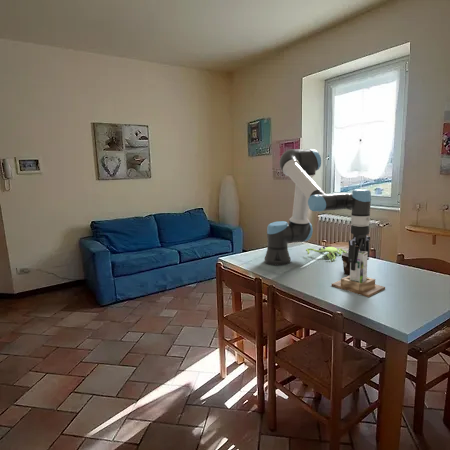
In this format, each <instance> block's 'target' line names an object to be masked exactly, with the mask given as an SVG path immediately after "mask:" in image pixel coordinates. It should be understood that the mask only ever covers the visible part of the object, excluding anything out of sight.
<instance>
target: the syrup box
mask: <svg viewBox="0 0 450 450" xmlns="http://www.w3.org/2000/svg"><path fill="white" fill-rule="evenodd" d="M367 257H368V252H367V251H360V250H359V253H358V258H357V262H356V263H358V267H357V278H355V277H351V263H350V275H349V276H350V280H352V281H355V282H359V283H363V282H365V281H366V279H367V277H368V275H367V274H368V260H367Z"/></svg>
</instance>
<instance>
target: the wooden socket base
mask: <svg viewBox="0 0 450 450" xmlns="http://www.w3.org/2000/svg"><path fill="white" fill-rule="evenodd" d="M330 286H331V287H334V288H337V289H340V290H343V291H348V292H351V293H354V294H356V295H360V296H363V297H366V298H370V297H371V296H373V295H376V294H377V293H380V292H382V291H384V290H386V286H383V285H380V284H376V279H375V278H372V277H368V276H367V279H366V281H365V282H363V283H359V282H355V281H352V280H350V275H347V276H345V277H342V278H340V280H338V281H334V282H332V283H331V285H330Z"/></svg>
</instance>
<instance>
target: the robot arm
mask: <svg viewBox="0 0 450 450" xmlns="http://www.w3.org/2000/svg"><path fill="white" fill-rule="evenodd" d="M321 157H322V156H321V155H320V152H319V151H318V150H316V149H315V148H296V149H294V148H293V149H287V150H286V151H284V152H283V153H282V154H281V156H280V158H279V161H278V163H279V164H278V165H279V169H280V170H281V172H282V173H283V174H284V175H285V176H286V177H289V178H290V180H291V181H292V182H293V183H294V185H295V187H294V196H293V204H292V205H293V207H292V215H291V217H290V218H289V219H288V220H289V221H288V222H287V221H284V220H281V221H273V222H271V223H268V225H267V228H266V229H267V230H266V233H267V234H266V236H267V237H266V239H267V241H266V242H267V243H266V244H267V247H266V248H267V249H266V252H265V255H264V263H265V264H268V265H271V266H286V265H289V264H290V263H291V262H292V261H291V256H290V252H289V250H288V249H289V248H288V247H289V246H288V245H289V244H294V243H303V242H308V241H309V240H310V239H311V238H312V236H313V232H314V230H313V229H314V228H313V225H312V223H311V222H310V219H309V218H308V215H309V210H310V211H312V212H320V213H321V212H327V211H338V210H339V211H340V210H347V211H351V217H350V218H351V219H350V222H351V223H350V224H351V225H350V233H351V234H352V235H353V236H352V239H349V240H348V250H347V253H348V262H350V263H351V277H355V278H357V267H358V263H356V262H357V258H358V253H359V251H367V252H368V257H367V261H369V259H370V249H371V248H370V242H371V236H369V234H370V222H371V221H370V220H371V218H370V217H371V201H372V192H371V190H370V189H353V190H352V192H344V191H343V192H342V191H341V192H336V193H326V192H325V191H324V190H323V189H322V187H320V185H318V183H317V182H315V180H314V179H313V177H315V175H316V172H317V171H318V170H319V169H320V168H321V166H322V158H321Z"/></svg>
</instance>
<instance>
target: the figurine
mask: <svg viewBox="0 0 450 450" xmlns="http://www.w3.org/2000/svg"><path fill="white" fill-rule="evenodd" d="M305 251H306V252H307V255H309V254H310V252H311V251H314V252H315V253H323V252H324V253H325V252H326V253H327V254H326V256H327V258H329V260H330V261H331V262H334V261H335V260H336V255H335V253H336V254H338V255H341V256H342V254H343V253H348V251H346V250H344V249H342V248H336V247H334V246H327V247H326V246H323V247H319V248H318V249H315V248H312V247H311V248H310V247H309V248H306V249H305Z"/></svg>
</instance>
